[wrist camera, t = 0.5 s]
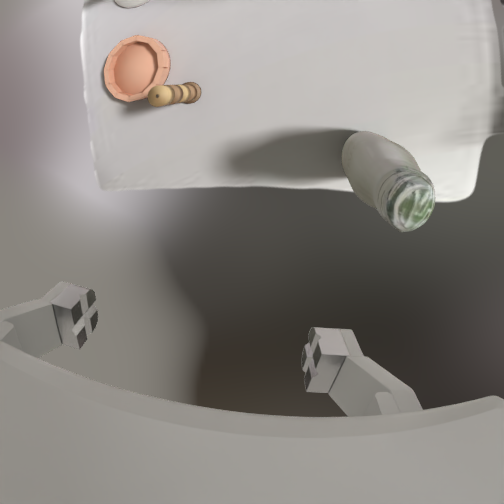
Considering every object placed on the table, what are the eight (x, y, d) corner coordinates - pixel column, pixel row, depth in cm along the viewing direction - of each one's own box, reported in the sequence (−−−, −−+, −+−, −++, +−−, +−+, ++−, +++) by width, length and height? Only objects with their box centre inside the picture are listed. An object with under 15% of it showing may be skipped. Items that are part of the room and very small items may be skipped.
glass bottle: (383, 179, 52) (439, 254, 29) (334, 172, 53) (361, 245, 30) (391, 132, 47) (463, 175, 23) (340, 123, 48) (379, 156, 24)
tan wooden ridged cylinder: (192, 77, 47) (159, 76, 35) (205, 94, 49) (176, 97, 36) (175, 91, 49) (139, 95, 37) (188, 107, 50) (155, 115, 38)
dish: (146, 25, 41) (138, 23, 38) (183, 68, 46) (177, 67, 43) (102, 70, 47) (94, 70, 44) (135, 112, 52) (127, 114, 49)
